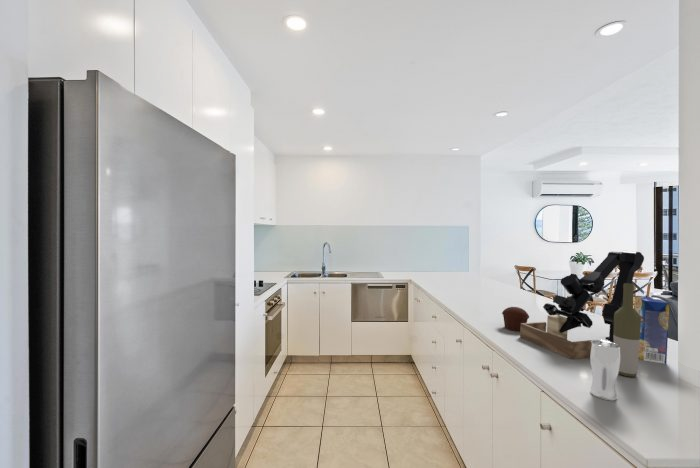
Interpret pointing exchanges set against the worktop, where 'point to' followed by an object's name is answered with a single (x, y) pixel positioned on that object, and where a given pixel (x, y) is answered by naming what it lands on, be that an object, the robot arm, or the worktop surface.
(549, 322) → the ash block
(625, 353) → the bottle
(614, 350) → the beer glass
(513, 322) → the muffin
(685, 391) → the worktop surface
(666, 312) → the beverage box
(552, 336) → the u-shaped wooden wall
